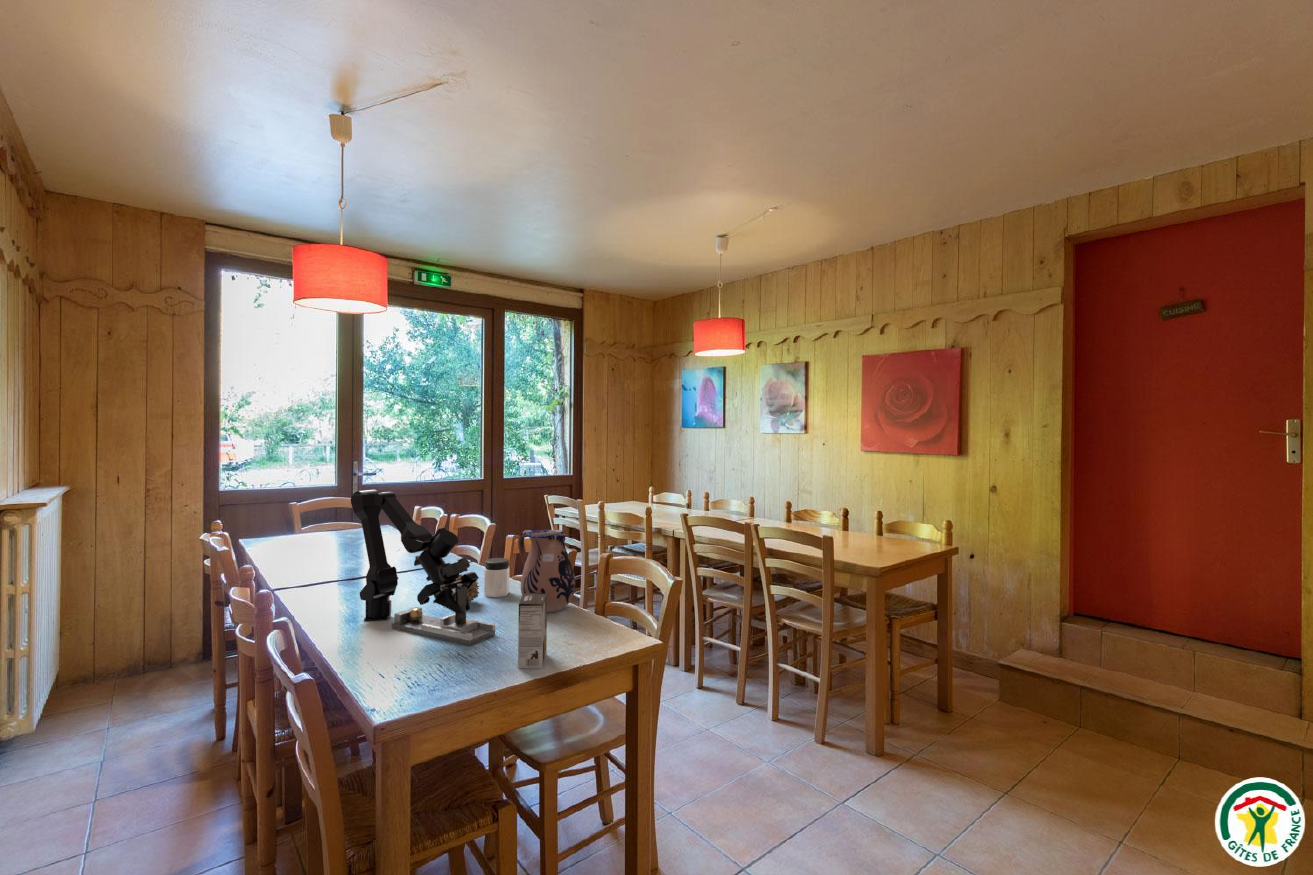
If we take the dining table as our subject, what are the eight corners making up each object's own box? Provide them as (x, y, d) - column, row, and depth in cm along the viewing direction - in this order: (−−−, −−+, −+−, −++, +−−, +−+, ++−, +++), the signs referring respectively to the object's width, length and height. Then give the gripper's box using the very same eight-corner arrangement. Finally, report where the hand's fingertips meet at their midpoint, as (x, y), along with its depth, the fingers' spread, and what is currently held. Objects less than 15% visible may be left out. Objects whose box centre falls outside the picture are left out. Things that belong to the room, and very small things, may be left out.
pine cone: (487, 604, 202) (487, 574, 202) (461, 610, 195) (461, 579, 195) (452, 592, 217) (452, 564, 217) (426, 597, 209) (426, 568, 209)
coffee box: (521, 654, 158) (522, 592, 158) (547, 654, 159) (547, 592, 158) (516, 668, 149) (517, 603, 149) (543, 668, 150) (544, 602, 149)
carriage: (440, 631, 171) (440, 588, 171) (458, 624, 177) (458, 582, 177) (459, 635, 168) (459, 591, 167) (477, 628, 174) (477, 586, 174)
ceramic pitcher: (558, 620, 187) (559, 538, 187) (499, 612, 194) (500, 533, 194) (584, 604, 203) (585, 529, 203) (529, 597, 211) (530, 525, 210)
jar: (488, 598, 209) (488, 563, 209) (480, 593, 216) (480, 559, 215) (513, 595, 214) (513, 561, 214) (505, 589, 221) (505, 556, 220)
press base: (391, 628, 177) (391, 610, 177) (418, 618, 186) (418, 602, 186) (469, 646, 164) (469, 627, 164) (495, 634, 173) (495, 617, 173)
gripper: (424, 556, 165) (455, 602, 160) (474, 544, 182) (502, 586, 177) (404, 581, 169) (433, 627, 164) (454, 567, 185) (481, 609, 181)
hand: (464, 611), depth 171 cm, fingers closed on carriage, 3 cm apart
